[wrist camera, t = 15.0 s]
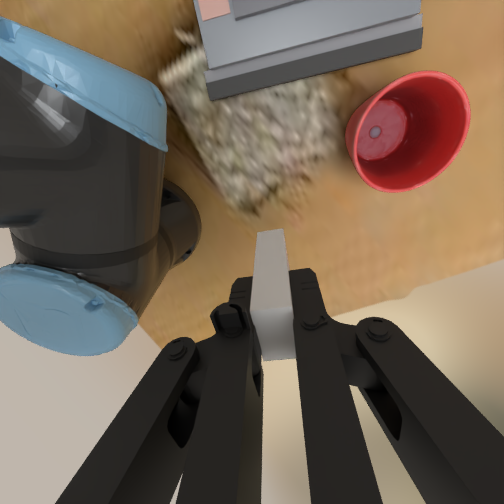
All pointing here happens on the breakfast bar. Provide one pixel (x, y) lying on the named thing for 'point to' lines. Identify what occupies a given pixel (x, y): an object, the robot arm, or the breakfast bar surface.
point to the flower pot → (408, 131)
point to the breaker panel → (286, 24)
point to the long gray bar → (316, 58)
